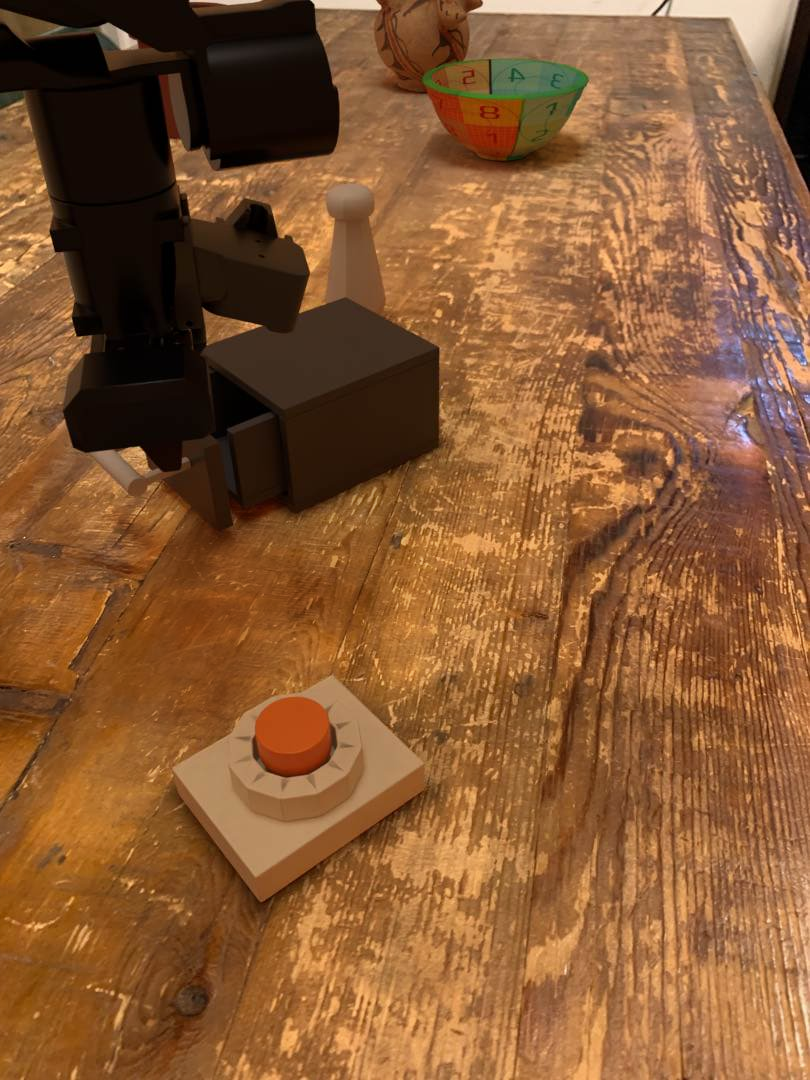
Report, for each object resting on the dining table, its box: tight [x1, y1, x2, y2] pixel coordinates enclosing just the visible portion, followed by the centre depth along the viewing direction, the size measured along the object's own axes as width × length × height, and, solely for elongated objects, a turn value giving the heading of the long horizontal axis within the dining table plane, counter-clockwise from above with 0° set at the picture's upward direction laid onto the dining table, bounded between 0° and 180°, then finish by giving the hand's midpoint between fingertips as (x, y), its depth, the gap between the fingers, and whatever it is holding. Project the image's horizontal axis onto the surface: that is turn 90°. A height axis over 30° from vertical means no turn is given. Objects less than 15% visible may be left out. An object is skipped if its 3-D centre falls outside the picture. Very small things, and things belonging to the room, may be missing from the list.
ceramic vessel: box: [373, 0, 484, 93], centre depth 156 cm, size 18×19×25 cm
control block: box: [171, 674, 425, 903], centre depth 48 cm, size 10×8×4 cm
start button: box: [255, 697, 332, 776], centre depth 46 cm, size 4×4×2 cm
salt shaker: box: [324, 183, 387, 316], centre depth 88 cm, size 6×6×13 cm
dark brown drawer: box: [88, 367, 287, 533], centre depth 68 cm, size 17×10×7 cm, turn 129°
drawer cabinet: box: [200, 297, 441, 514], centre depth 72 cm, size 14×12×9 cm
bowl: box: [422, 57, 590, 162], centre depth 130 cm, size 22×22×10 cm
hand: (171, 468), depth 53 cm, fingers closed
